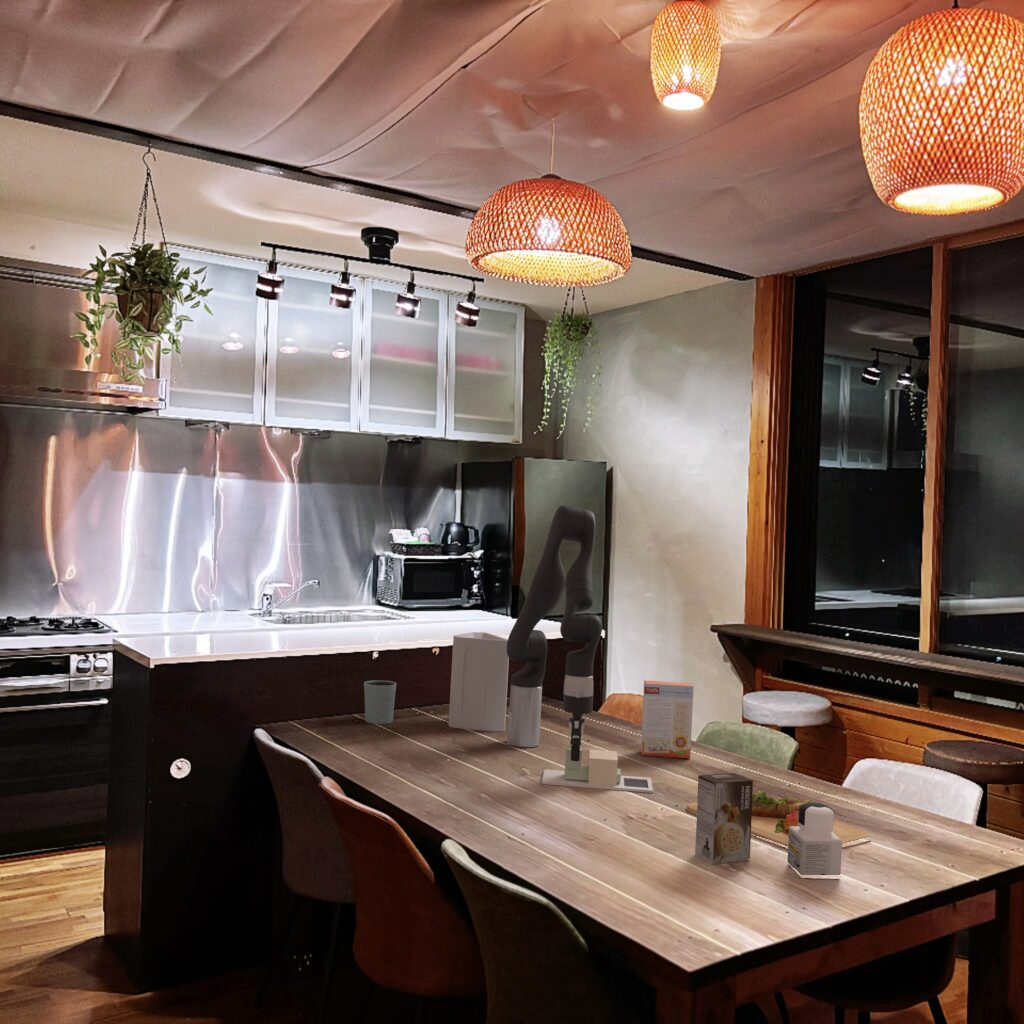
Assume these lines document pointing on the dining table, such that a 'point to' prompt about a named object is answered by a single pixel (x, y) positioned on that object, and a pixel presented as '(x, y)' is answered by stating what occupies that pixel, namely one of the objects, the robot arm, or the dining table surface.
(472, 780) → the dining table surface
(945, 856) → the dining table surface
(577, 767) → the sage green stepped block
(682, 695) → the cracker box
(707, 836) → the coffee box
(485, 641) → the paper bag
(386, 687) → the grey green cup
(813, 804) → the container
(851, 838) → the cutting board
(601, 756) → the white base plate
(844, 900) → the dining table surface
